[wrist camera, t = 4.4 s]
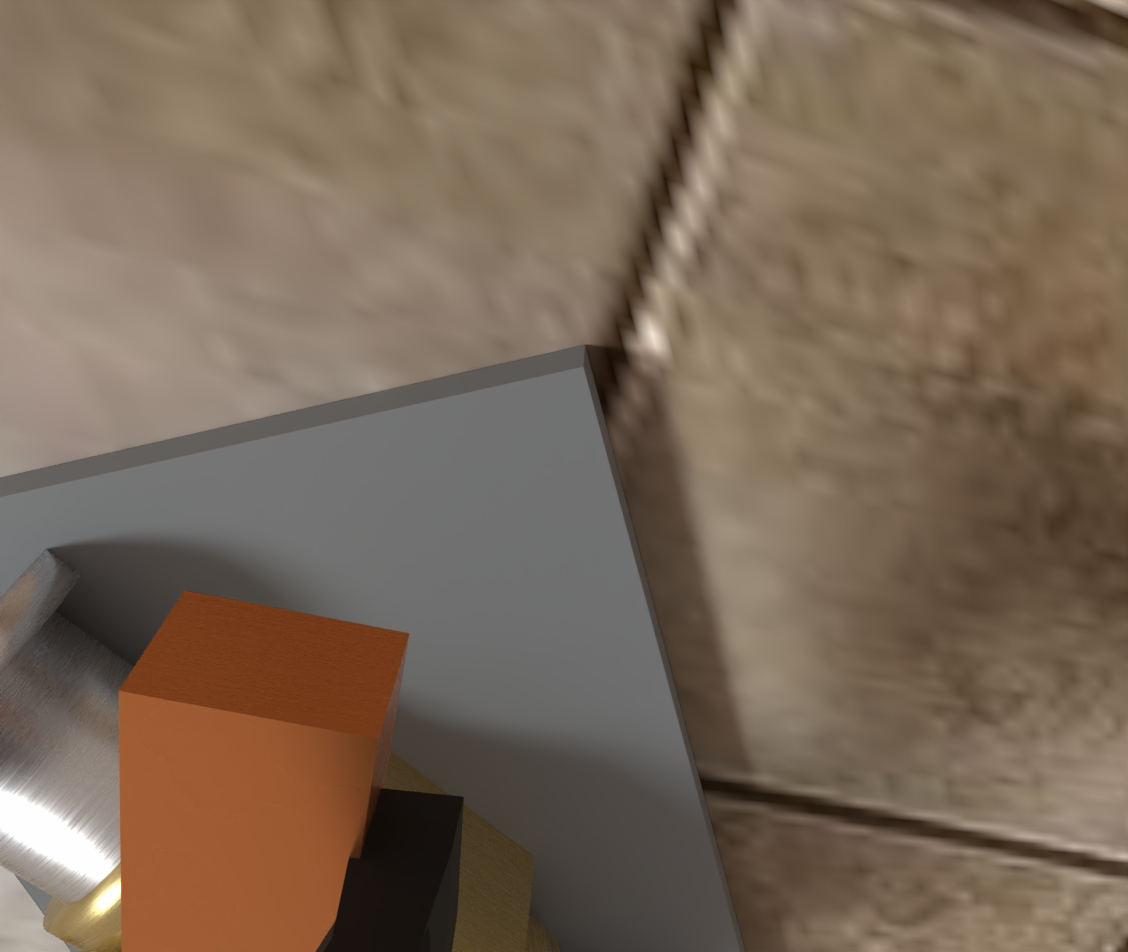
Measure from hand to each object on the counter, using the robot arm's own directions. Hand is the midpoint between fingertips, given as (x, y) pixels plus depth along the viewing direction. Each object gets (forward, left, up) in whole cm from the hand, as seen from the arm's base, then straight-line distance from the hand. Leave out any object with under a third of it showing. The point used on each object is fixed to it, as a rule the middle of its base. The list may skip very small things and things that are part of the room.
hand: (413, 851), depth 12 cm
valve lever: (-3, +3, 0) cm, 4 cm away
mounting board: (-7, +6, -8) cm, 13 cm away
